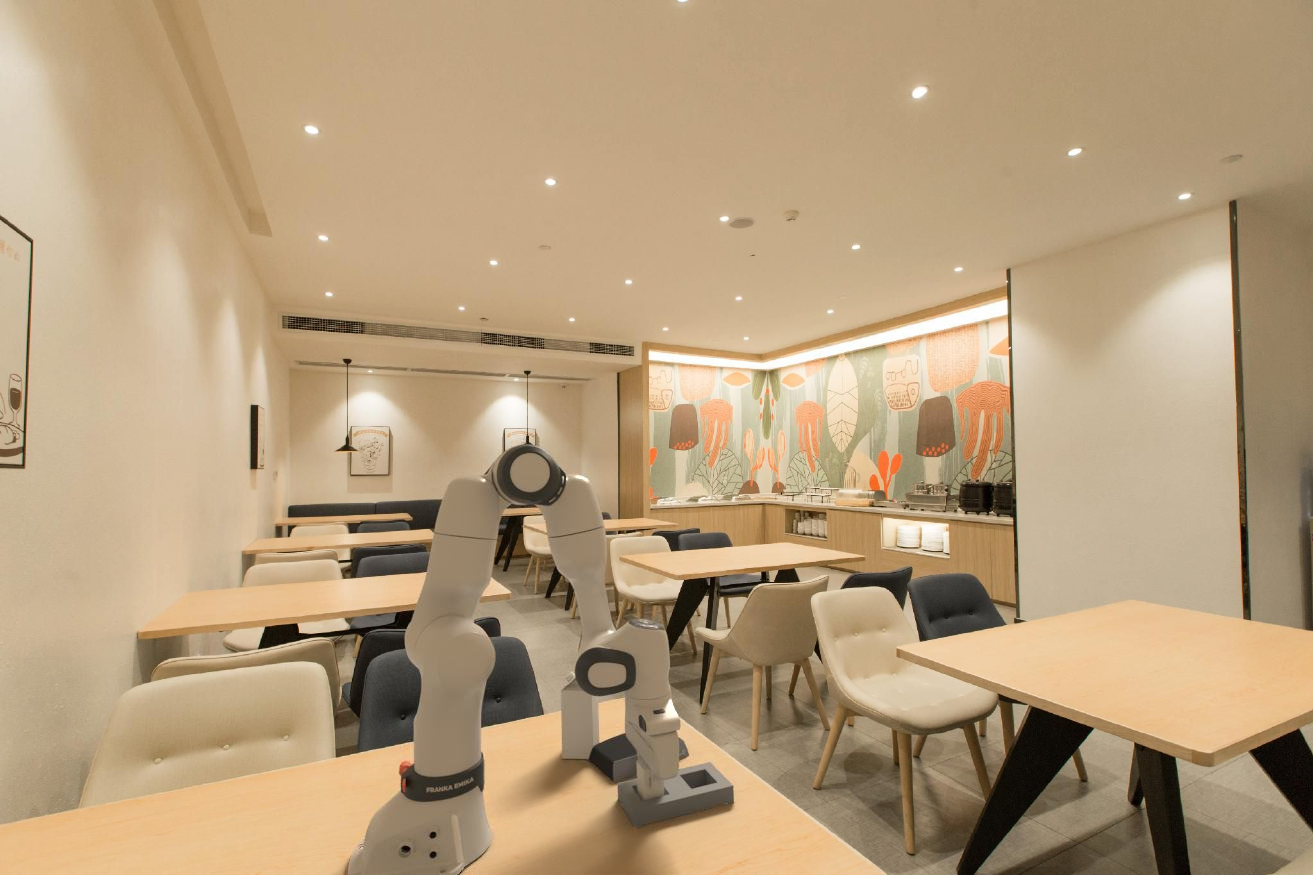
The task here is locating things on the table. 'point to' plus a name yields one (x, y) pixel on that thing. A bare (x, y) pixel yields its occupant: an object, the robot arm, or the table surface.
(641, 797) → the plug
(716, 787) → the socket panel
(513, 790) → the table surface
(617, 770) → the external hard drive
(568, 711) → the milk carton
